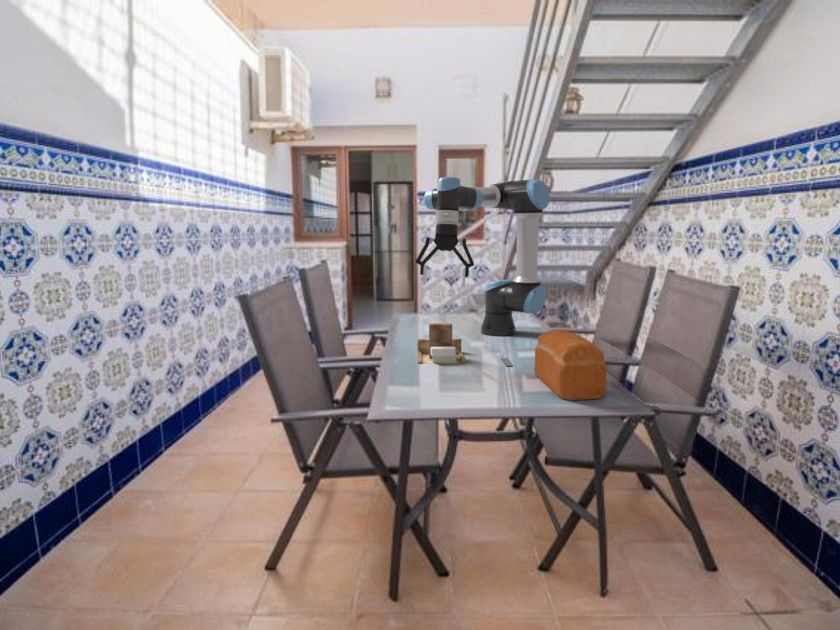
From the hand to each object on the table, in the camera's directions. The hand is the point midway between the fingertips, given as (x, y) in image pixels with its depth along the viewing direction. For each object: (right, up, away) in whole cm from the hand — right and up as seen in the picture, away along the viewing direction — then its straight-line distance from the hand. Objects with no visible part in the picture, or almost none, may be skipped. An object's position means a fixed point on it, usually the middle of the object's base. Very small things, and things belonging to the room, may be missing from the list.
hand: (443, 285), depth 186 cm
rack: (-1, -26, +4) cm, 26 cm away
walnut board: (-1, -25, +4) cm, 25 cm away
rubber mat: (+16, -27, 0) cm, 31 cm away
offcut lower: (0, -26, -2) cm, 26 cm away
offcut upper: (0, -24, -3) cm, 24 cm away
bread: (+36, -32, -26) cm, 54 cm away
